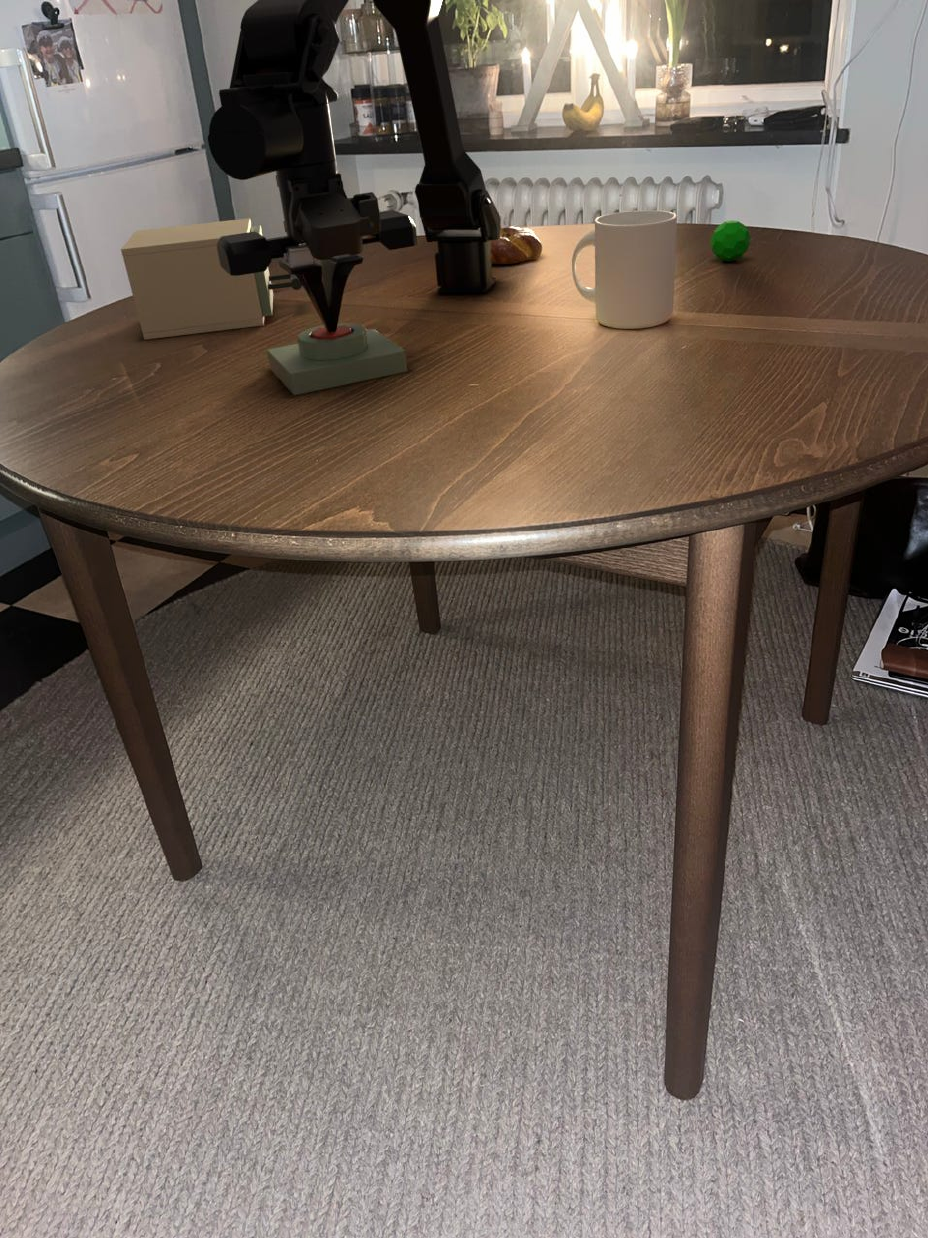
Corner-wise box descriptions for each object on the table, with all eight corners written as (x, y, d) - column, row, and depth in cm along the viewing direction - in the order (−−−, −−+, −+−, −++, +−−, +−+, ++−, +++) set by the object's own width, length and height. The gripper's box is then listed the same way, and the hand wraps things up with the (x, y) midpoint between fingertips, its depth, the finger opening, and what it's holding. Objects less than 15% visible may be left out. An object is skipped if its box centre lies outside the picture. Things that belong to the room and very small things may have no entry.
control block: (376, 348, 104) (371, 311, 102) (407, 371, 96) (403, 332, 94) (270, 369, 100) (263, 332, 98) (294, 395, 92) (286, 355, 90)
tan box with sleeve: (265, 301, 127) (250, 217, 121) (263, 325, 116) (246, 234, 111) (156, 314, 126) (135, 230, 120) (144, 339, 115) (120, 249, 109)
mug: (591, 304, 112) (590, 208, 107) (685, 312, 106) (690, 210, 100) (555, 323, 107) (552, 222, 101) (652, 333, 100) (655, 226, 95)
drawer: (304, 291, 127) (293, 221, 122) (306, 311, 117) (293, 236, 112) (171, 306, 125) (154, 236, 120) (162, 329, 115) (143, 253, 111)
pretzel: (470, 251, 144) (468, 226, 142) (541, 246, 143) (541, 220, 141) (466, 269, 134) (464, 241, 132) (542, 263, 133) (541, 236, 131)
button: (346, 339, 99) (344, 323, 98) (358, 348, 96) (356, 331, 95) (310, 346, 98) (307, 330, 97) (320, 356, 95) (318, 338, 94)
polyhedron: (748, 255, 127) (751, 217, 125) (747, 263, 123) (750, 224, 121) (711, 256, 129) (713, 218, 126) (708, 264, 125) (710, 226, 122)
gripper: (223, 184, 79) (259, 368, 87) (429, 156, 84) (445, 331, 92) (200, 172, 87) (235, 340, 96) (388, 147, 93) (406, 308, 101)
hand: (331, 330), depth 96 cm, fingers closed, pressing on button
